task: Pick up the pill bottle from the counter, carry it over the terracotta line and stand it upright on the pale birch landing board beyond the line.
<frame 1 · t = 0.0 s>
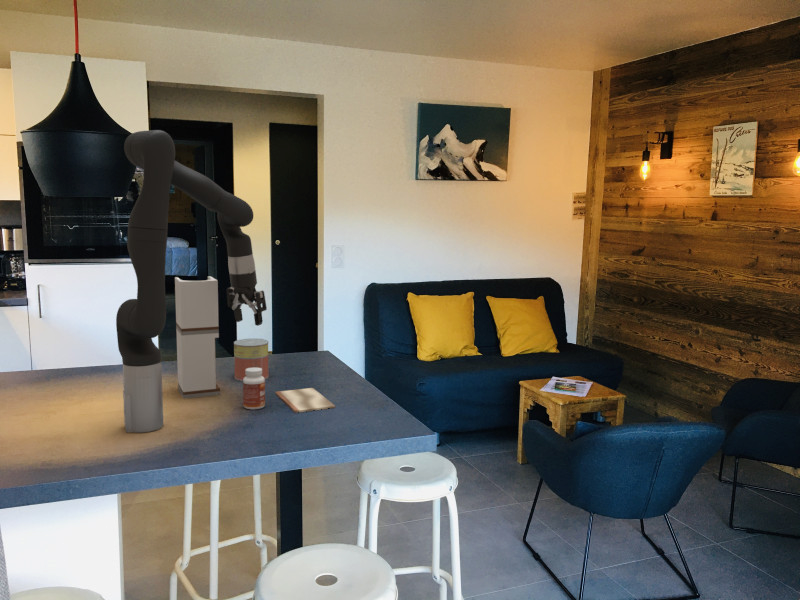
hand: (248, 323, 194), 22 cm above the bar counter, tool pointing down, fingers open, 8 cm apart
pill bottle: (254, 407, 187), on the bar counter
white square tower: (198, 392, 200), on the bar counter
canned food: (251, 377, 218), on the bar counter
landing board: (304, 400, 193), on the bar counter
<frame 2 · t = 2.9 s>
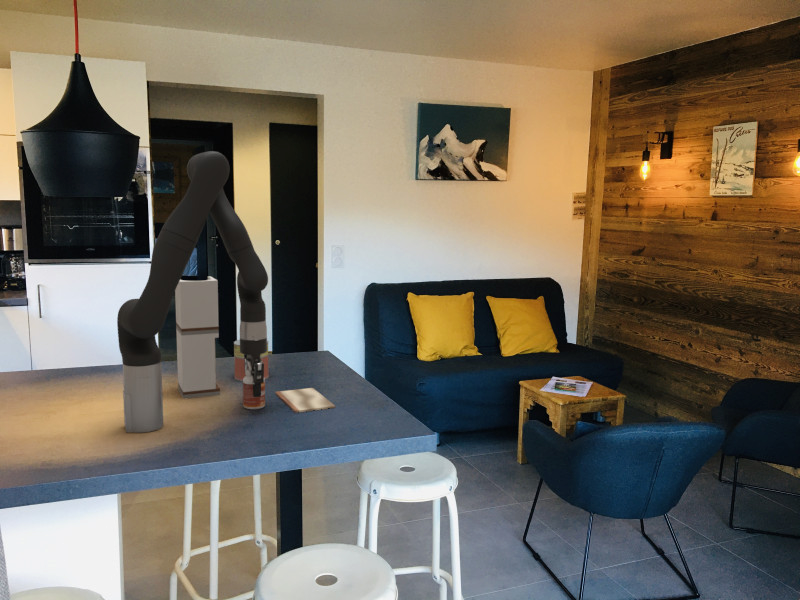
hand: (254, 393, 186), 4 cm above the bar counter, tool pointing down, fingers closed on pill bottle, 6 cm apart
pill bottle: (254, 407, 187), on the bar counter, touching gripper
everything else where it was.
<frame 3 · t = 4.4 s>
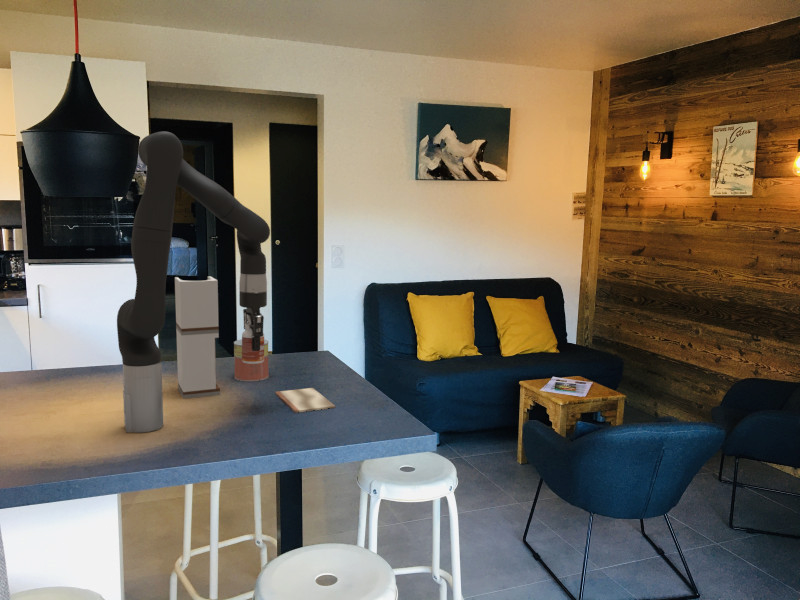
hand: (253, 347, 184), 17 cm above the bar counter, tool pointing down, fingers closed on pill bottle, 6 cm apart
pill bottle: (253, 362, 185), point 13 cm above the bar counter, touching gripper
everything else where it was.
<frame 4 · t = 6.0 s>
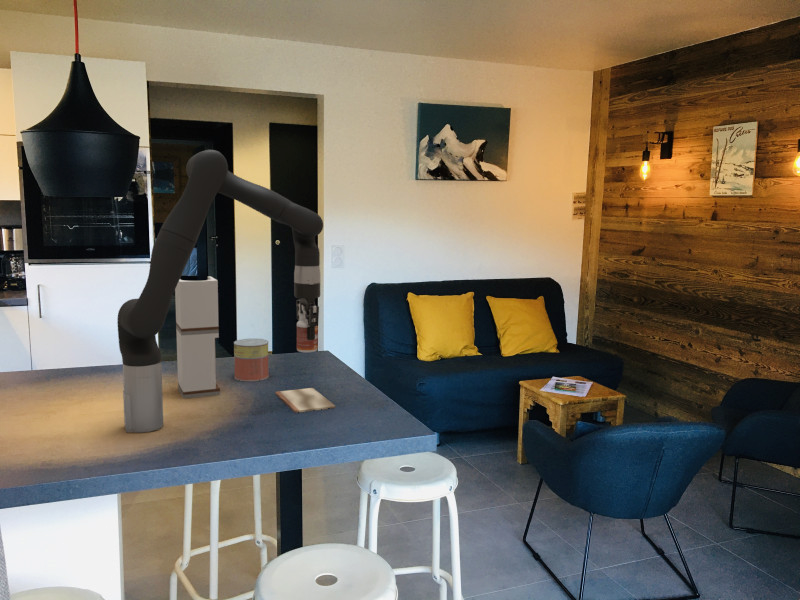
hand: (307, 337, 191), 19 cm above the bar counter, tool pointing down, fingers closed on pill bottle, 6 cm apart
pill bottle: (307, 351, 191), point 15 cm above the bar counter, touching gripper
everything else where it was.
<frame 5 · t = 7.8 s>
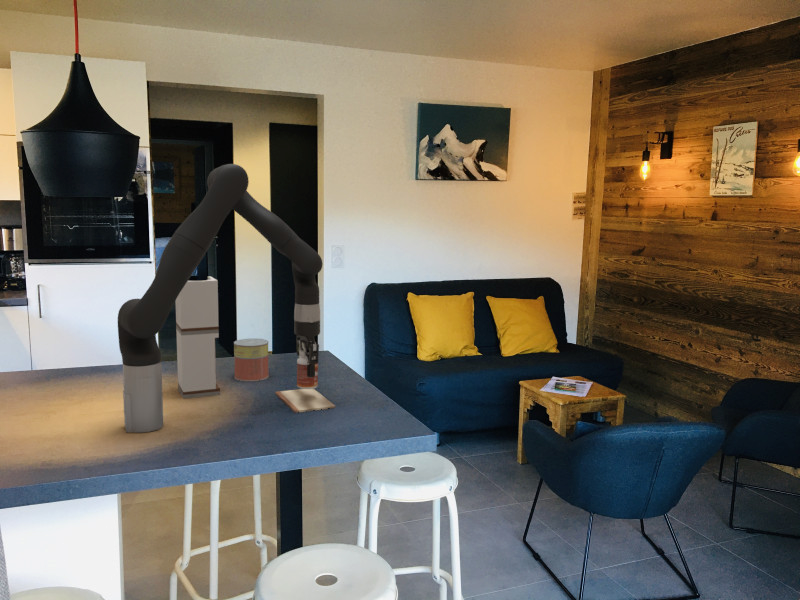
hand: (307, 373, 193), 8 cm above the bar counter, tool pointing down, fingers closed on pill bottle, 6 cm apart
pill bottle: (307, 387, 193), point 4 cm above the bar counter, touching gripper
everything else where it was.
when the fingers open (6 cm above the bar counter, at t = 9.3 s): pill bottle drops 1 cm, resting on landing board.
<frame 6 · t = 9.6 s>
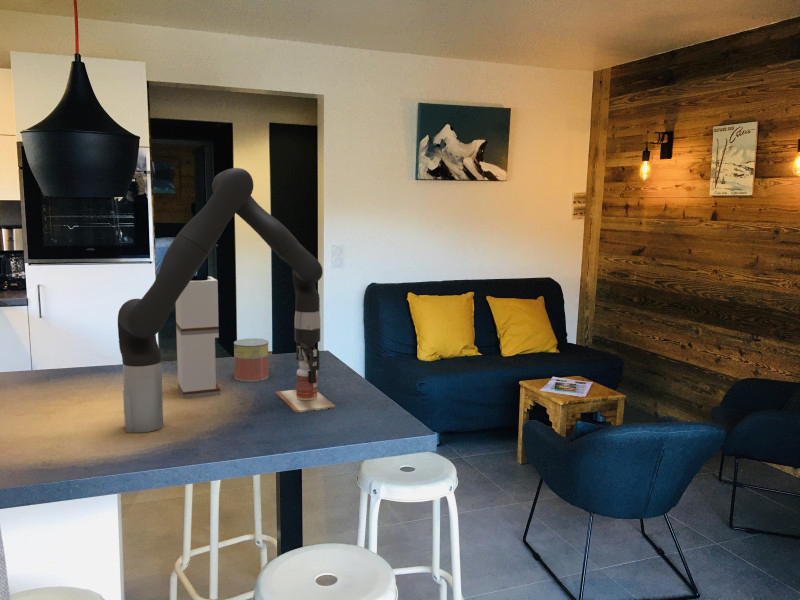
hand: (307, 379, 193), 6 cm above the bar counter, tool pointing down, fingers open, 8 cm apart
pill bottle: (306, 398, 194), resting on landing board
everything else where it was.
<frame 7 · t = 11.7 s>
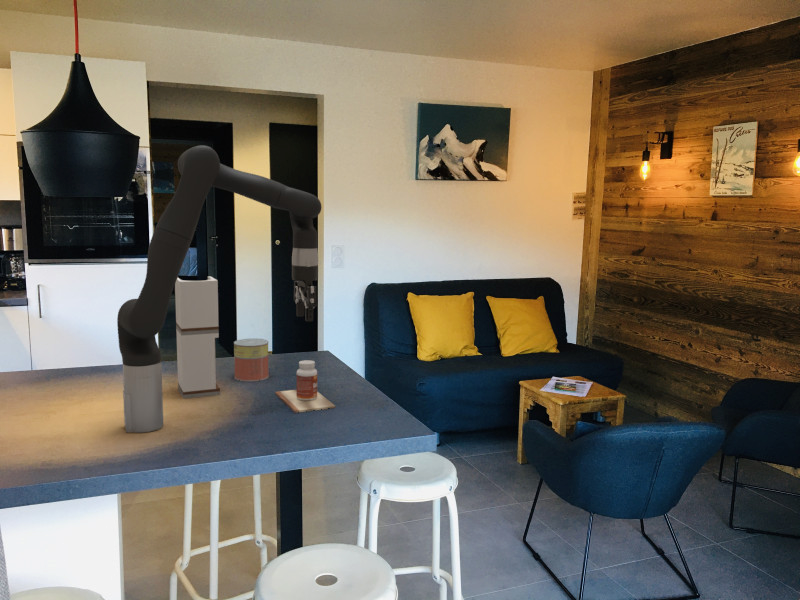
hand: (304, 318, 190), 25 cm above the bar counter, tool pointing down, fingers open, 8 cm apart
nothing on the bar counter moved.
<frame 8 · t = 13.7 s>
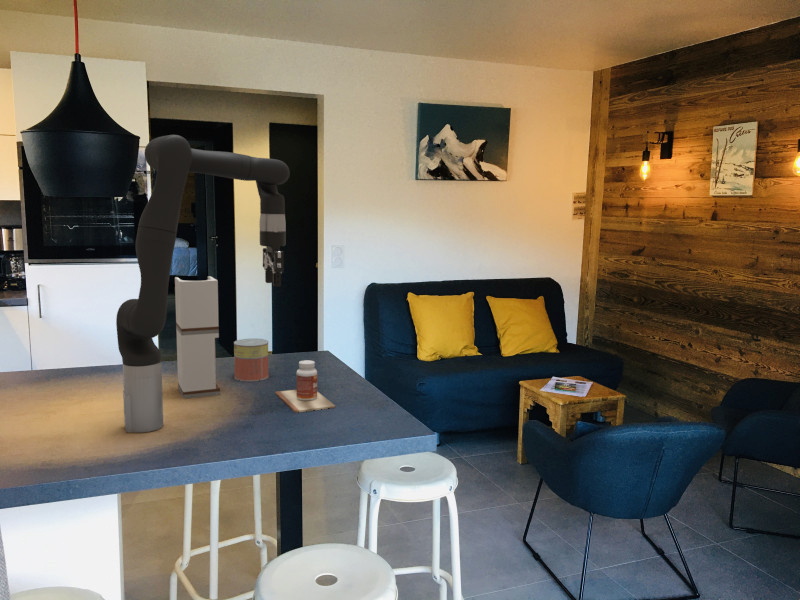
hand: (273, 284, 192), 34 cm above the bar counter, tool pointing down, fingers open, 8 cm apart
nothing on the bar counter moved.
at the end: pill bottle inside the target area (0.4 cm from its centre), resting on landing board; pill bottle tilted 0°; the gripper is holding nothing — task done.
